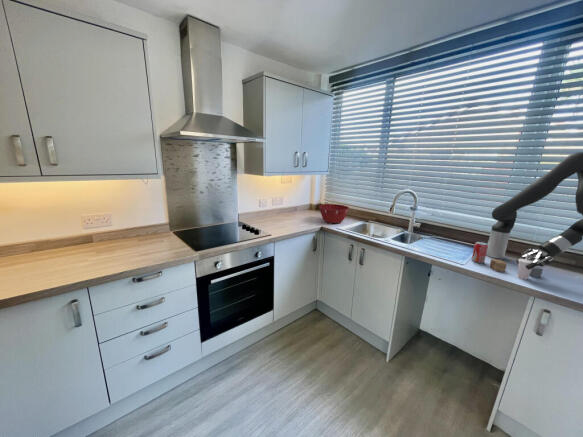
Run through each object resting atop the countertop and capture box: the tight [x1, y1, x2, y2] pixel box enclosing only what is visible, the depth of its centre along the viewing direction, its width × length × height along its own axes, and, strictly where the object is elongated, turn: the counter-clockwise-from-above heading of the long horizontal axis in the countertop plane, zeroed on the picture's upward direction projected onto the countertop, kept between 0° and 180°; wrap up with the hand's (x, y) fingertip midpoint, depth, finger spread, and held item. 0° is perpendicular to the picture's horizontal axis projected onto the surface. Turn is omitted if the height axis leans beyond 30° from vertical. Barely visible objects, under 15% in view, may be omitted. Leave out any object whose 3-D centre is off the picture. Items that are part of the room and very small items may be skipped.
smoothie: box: [517, 253, 534, 280], centre depth 126 cm, size 6×6×14 cm
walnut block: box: [489, 258, 508, 273], centre depth 137 cm, size 5×5×5 cm
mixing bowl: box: [318, 203, 350, 224], centre depth 233 cm, size 28×28×16 cm
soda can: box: [471, 241, 488, 264], centre depth 147 cm, size 6×6×12 cm
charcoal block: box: [528, 266, 544, 278], centre depth 131 cm, size 5×5×5 cm
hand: (522, 265), depth 126 cm, fingers closed on smoothie, 6 cm apart
